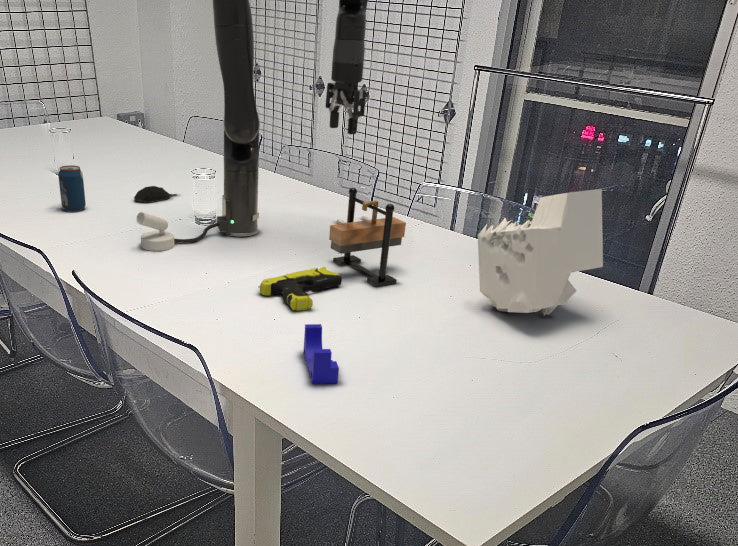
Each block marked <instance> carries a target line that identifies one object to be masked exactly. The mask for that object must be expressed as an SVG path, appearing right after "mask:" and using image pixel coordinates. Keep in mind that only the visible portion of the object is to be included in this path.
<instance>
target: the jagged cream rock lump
mask: <svg viewBox="0 0 738 546" xmlns="http://www.w3.org/2000/svg"><path fill="white" fill-rule="evenodd" d="M510 222H511V220H508V221H507V218H506V217H504V218H503V219H502V220H501V222H500V223H499V224H498V225H497V226H496V227H495V228H494V226H495V225H494V224H491V225H490V226H489V227H488V229H487V226H488V223H486V224H485V225H484V226H483V228H482V229H481V231H480V232H479V233H477V255H478V278H479V293H481V294H482V295H483V296H484V297H485V298H487V299H488V300H489V301H490V302H491V306H492V307H494V308H495V309H496V310H497V311H498V312H508V313H523V314H529V313H537V312H539V311H542V313H543V317H545V316H549V315H550V314H551V313H552V312H553V311H554V310H555V309H556V308H558V306H559V305H560V306H562V305H565V304H566V303H567V302H568V301H569V300H570V298H572V296H573V295H574V294H576V292H577V291H578V290H577V289H576V288H575V287H574V285H573V284H572V283H571V282H570V280H569V278H570V276H571V274H572V273H577V272H583V271H587V270H593V269H599V268H603V267H604V247H603V246H604V245H603V243H604V242H603V237H604V236H603V189H602V188H597V189H588V190H580V191H578V190H577V191H571V192H564V193H557V194H553V195H552V194H551V195H546V196H540V197H539V200H538V203H537V206H536V209H535V211H534V214H533V216H532V219H531V221H530V219H529V220H527V221H525V222H524V223H523V224H517V223H518V221H515V222H511V223H510ZM529 225H530V226H529Z"/></svg>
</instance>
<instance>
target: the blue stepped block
mask: <svg viewBox="0 0 738 546" xmlns="http://www.w3.org/2000/svg"><path fill="white" fill-rule="evenodd" d="M303 340H304V341H303V352H302V353H303V357H304V360H305V363H306V367H307V370H308V374H309V376H310V380H311V383H312V384H315V385H317V384H318V385H319V384H338V383H339V382H338V381H339V370H340V367H339V364H338V362H337V360H333V359H332V353H333V352H332V349H331V348H323V325H322V324H321V323H308V324H304V338H303Z"/></svg>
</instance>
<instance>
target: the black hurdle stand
mask: <svg viewBox="0 0 738 546" xmlns="http://www.w3.org/2000/svg"><path fill="white" fill-rule="evenodd" d="M357 194H358V190H357V188H356V187H350V188H349V189H348V206H347V219H346V223H350V222H355V211H356V203H358V204H360V205H362V206H363V202H365V201H364V200H362V199H359V198H357ZM368 208H369V209H371V210H372V211H373V210H375V211H377V213H379V214H382V215H383V216H384V218H385V224H384V233H383V242H382V248H381V250H380V251H381V252H380V261H379V268H378V269H379V270H378V274H376V273H375V272H373V271H371V270H369V269H367V268H366V267H365V266H363V265H360V264H361V263H362V258H359V257H358V256H356V255H355V254H352V252H349V253H343V256H338V257H337V256H336V257H333V258H332V263H334V264H336V265H337V266H339V267H344V266H349V267H350V268H352V269H354V270H356V271H357V272H359V273H361V274H362V275H364V276H366V283H367V284H369V285H370V286H373V287H375V288H378V287H383V286H389V285H395V284H397V283H398V282H397V281H398V280H397V279H396V278H395V277H393V276H391V275H389V274H387V269H388V259H389V250H390V247H389V243H390V235H391V226H392V217H394V216H393V215H394V211H395V205H394V204H393V203H388V204H386V205H385V208H384V209H385V210H383V209H382V208H379V207H378V208H377V207H375V206H373V205H369V206H367V209H368Z"/></svg>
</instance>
